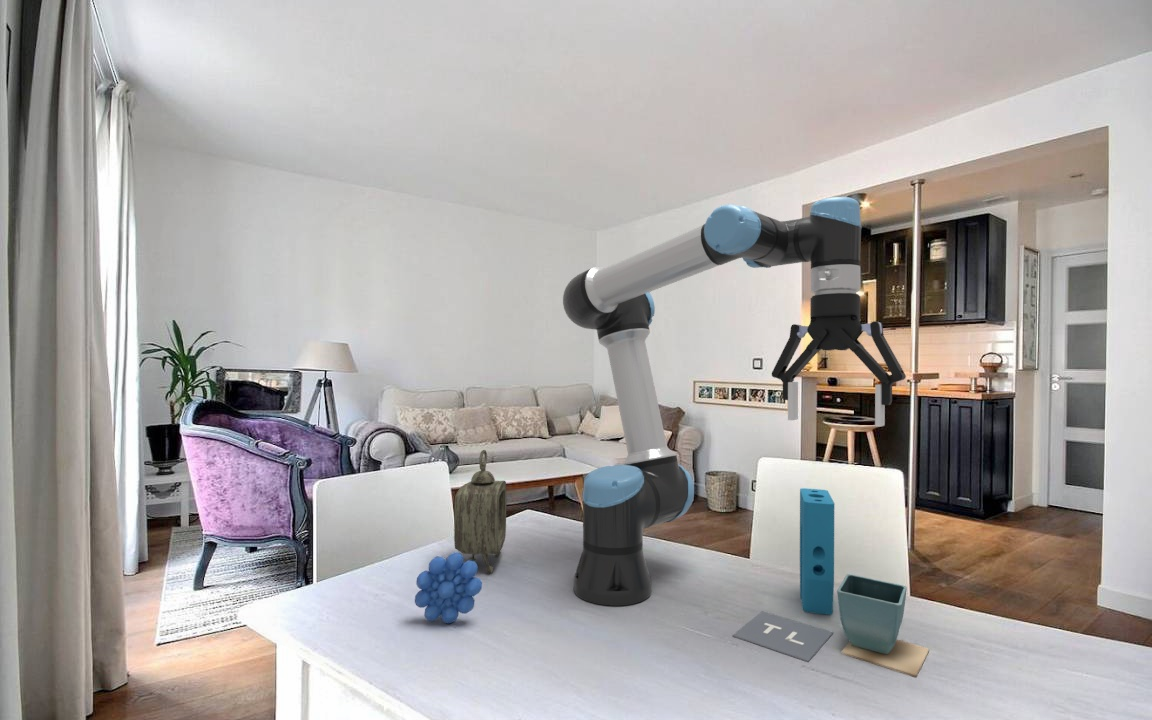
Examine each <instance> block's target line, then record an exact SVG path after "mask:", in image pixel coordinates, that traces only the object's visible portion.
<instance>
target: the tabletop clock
mask: <svg viewBox="0 0 1152 720" xmlns="http://www.w3.org/2000/svg"><path fill="white" fill-rule="evenodd" d="M483 456H484V461H483ZM487 463H488V454H487V451H486V449H483V450H481V452H480V454H479V470H478V471H476V472H475V473H474V474H473V475H472V476H471V479H470V481H469V482H467V483H465V484H463V485H462V486H460V488H459V489H458V491H457V492H456V494H455V497H454V511H453V512H454V515H453V517H454V520H453V523H454V524H453V527H454V529H453V532H454V533H453V534H454V537H453V538H454V539H453V540H454V549H455V550H457V551H458V552H459V553H462V555H471V557H469V558H468V559H467V561H474V562H475V563H477V562H476V558H475V556H476V555H481V556H482V557H483V560H484V561H485V563H486V564H485V565H486V567H485V572H486V573H487V574H491V573H493V571H494V567H493V565H490V561H489V557H488V555H494V556H496V557H498V556H500V555H501V553H502V552H501V551H502V549H503V546H504V543H505V540H506V535H507V534H506V533H507V531H506V530H507V482H506V480H496V479H495V477H494V475H493V473H492V472H490V471H488V470H487V469H486V466H487Z"/></svg>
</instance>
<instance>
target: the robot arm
mask: <svg viewBox="0 0 1152 720" xmlns="http://www.w3.org/2000/svg"><path fill="white" fill-rule="evenodd" d="M860 206H861V205H860V203H859V202H858V200H856V199H854V198H852V197H848V196H833V197H832V196H831V197H828V198H827V197H826V198H821V200H818V201H815V202H814V203H813V204H812V205H811V207H810V212H809V216H805V217H800V218H798V219H790V220H781V221H780V220H779V219H775V218H773V217H771V216H767V215H764V214H762V213H759V212H757V211H754V210H752V209H750V208H748V207H747V206H743V205H735V204H729V203H728V204H723V205H721V206H719V207H717V208H715V209H714V210H713V211H712V212H711V213H710V215H709V216H708V217H707V218H706V221H705V223H703V224H701V225H699V226H696V227H694V228H692V229H689V230H688V231H685V232H683V233H681V234H679V235H677V236H674V237H671V238H670V239H667V240H665V241H663V242H661V243H658V244H656V245H654V246H652V247H649V248H647V249H645V250H642V251H640V252H638V253H636V254H633V255H631V256H629V257H626V258H624V259H622V260H620V261H618V262H614V264H611V265H608V266H606V267H602V266H594V267H592V268H590V269H587V270H585V271H583V272H581V273H579V274H577V275H575V277H573V278H572V279H571V280H570V281H569V282H568V283H567V285H566V287H565V288H564V291H563V295H562V305H563V310H564V312H565V314H566V316H567V317H568V319H570V321H571V322H572V323H573V324H575V325H577V326H578V327H580V328H583V329H587V330H596V333H597V338H598V343H599V345H601V346H602V347H604V348H606V350H607V355H608V359H609V360H608V361H609V364H610V370H611V376H612V380H613V384H614V389H615V395H616V400H617V405H618V411H619V415H620V420H621V425H622V430H623V435H624V440H625V446H626V450H627V457H626V458H625V459H624V461H623V463H622V464H615V465H606V466H601V467H597V468H596V469H595V468H594V469H593V470H591V471H590V472H589V473H587V474H586V476H585V477H584V480H583V491H582V496H581V497H582V498H581V499H582V535H583V536H582V551H581V555H580V558H579V560H578V561H579V562H578V564H577V567H576V569H575V570H576V571H575V574H574V576H573V591H574V593H575V595H577V596H578V597H579V598H581V599H582V600H584V601H586V602H590V603H593V604H598V605H603V606H616V607H617V606H628V605H629V606H630V605H634V604H638V603H640V602H643V601H645V600H647V599H649V597H651V595H652V578H651V577H652V576H651V575H650V573H649V569H648V565H647V561H646V558H645V556H644V555H645V554H644V550H643V546H644V544H643V543H644V542H643V541H644V539H643V538H644V537H643V535H644V532H643V530H644V529H648V528H650V527H654V526H657V525H660V524H663V523H664V524H665V523H670V522H673V521H674V520H676V519H678V518H680V517H682V516H684V515H685V514H686V513H687V512H688V511H689V509H690V508H691V506H692V504H693V501H694V496H695V486H694V481H693V478H692V476H691V474H690V472H689V471H688V470H686V469H685V467H684V466H682V465H681V464H679V461H678V457H677V453H676V452H674V451H673V450H671V449H670V448H669V447H668V445H667V440H666V434H665V429H664V427H663V426H664V425H663V421H662V416H661V412H660V407H659V406H660V405H659V402H658V396H657V392H656V387H655V383H654V377H653V374H652V369H651V364H650V358H649V354H648V349H647V344H646V340H647V338H648V337H649V335H650V333H651V331H650V326H651V324H652V322H653V319H652V318H653V317H654V316H655V309H656V307H655V302H654V299H653V296H652V294H651V293H650V292H653V291H656V290H658V289H662V288H663V287H666V286H668V285H672V284H674V283H677V282H680V281H682V280H684V279H687V278H690V277H692V276H695V275H697V274H700V273H703V272H705V271H708V270H711V269H714V268H715V267H719V266H721V265H724V264H727V263H730V262H733V261H736V260H739V259H742V260H743V262H745V263H746V265H747V266H748V267H749V268H754V269H757V268H767V269H768V268H772V267H778V266H785V265H790V264H798V263H800V264H801V263H808V262H810V292H811V293H812V294H814V295H811V298H810V313H809V314H810V315H809V316H810V321H809V325H807V326H806V325H800V324H796V323H795V324H792V325H791V326H790V331H789V338H788V340H787V342H786V344H785V346H784V348H783V349H782V351H781V354H780V356H779V357H778V360H777V361H776V363H775V366H774V367H773V370H772V372H771V377H772V378H776V379H778V380H781V382H782V398H783V401H787V421H796V420H799V382H798V381H795V378H796V377H797V376H799V374H800V372H802V371H803V369H804V368H805V367H806V366H807V365H808V364H809V363H810V362H811V360H812V359H813V358H814V356H816V355H817V354H818V353H819V352H820V351H821V350H822V351H835V350H837V351H847V350H850V351H851V352H852V353H854V355H855V356H856V357H857V358H858V359H859V360H860V361H861V362H862V363H863V364H864V365H865V367H866V368H867V369H868V370H869V371H870V372H871V373H872V374H873V375H874V376H875V377H876V378H877V380H879V382H880V383H879V384H875V385H874V386H875V388H874V389H875V391H874V392H875V394H874V395H875V396H874V399H875V400H874V404H875V407H874V427H879V428H880V427H885V426H886V425H885V424H886V423H885V422H886V419H885V414H886V411H885V410H886V408H885V406H890V405H892V402H893V385H894V384H895V383H897V382H900V381H904V380H905V379H906V378H907V377H906V374H905V371H904V370H903V368H902V366H901V365H900V362H899V361H898V359H897V357H896V354H894V352H893V350H892V348H891V346H890V344H889V343H888V341H887V339H886V338H885V337H886V336H885V335H884V327H883V323H882V322H879V321H876V320H875V321H871V322H870V323H862V321H861V296H860V294H857V293H858V292H860V291H861V285H862V284H861V247H862V246H861V245H862V244H861V242H862V241H861V239H862V238H861V237H862V228H863V227H862V226H863V225H862V222H861V221H862V219H861V207H860ZM863 332H866V334H867V335H868V337H871V338H872V341H873V342H874V344H875V346H876V348H877V350H878V352H879V354H880V356H881V358H882V359H883V361H884V363H885V365H886V366H887V368H888V370H889V373H890V374H889V373H888V372H887V371H886V370H885V369H884V368H883V366H882V365H881V364H880V363H879V362H878V361H877V360H876V359H875V358H874V357H873V356H872V355H871V354H870V353H869V352H868V350H867V349H866V348H865V346H864V345H863V344H862V343H861V342H860V341H859V340H858V339H859V337H861V335H862V334H863ZM807 333H808V335H809V336H810V338H811V339H812V340H810V342H809V343H808V345H806V348H805V349H804V350H803V351H802V353H801V354H800V355H799V356H798V357H797V358H796V360H795V361H794V362H793V363H791V361H792V359H793V357H794V355H795V354H796V351H797V350H798V347H799V346H800V343H801V341H802V339H804V338H805V337H806V334H807ZM790 363H791V365H790V366H789V364H790ZM788 366H789V368H788Z"/></svg>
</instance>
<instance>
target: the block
mask: <svg viewBox="0 0 1152 720" xmlns="http://www.w3.org/2000/svg"><path fill="white" fill-rule="evenodd" d="M834 585H835V502H834V500H833V498H832V496H831V494H830V493H829V491H828V490H827V489H818V488H817V489H816V488H807V487H806V488H804V487H802V488H800V490H799V597H800V601H801V609H802V611H804V612H805V613H810V614H811V613H813V614H819V615H825V616H826V615H827V616H831V615H833V613H834V612H833V611H834V609H833V608H834V588H835V586H834Z"/></svg>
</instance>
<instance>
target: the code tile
mask: <svg viewBox="0 0 1152 720" xmlns="http://www.w3.org/2000/svg"><path fill="white" fill-rule="evenodd" d="M832 635H834V632H833V631H831V630H827V629H825V628H821V627H818V626H814V625H811V624H807V623H803V622H802V621H797V620H794V619H790V618H787V617H784V616H781V615H777V614H774V613H771V612H768V611H764V610H762V611H760V613H758V614H757V615H756V616H754V617H753V618H752V619H751V620H750V621H748V622H747V623H746V624H745V625H744V626H742V627H741V628H740V629H738V630H737V631H736V632H735V633H734V634H732V638H733V637H734V638H736V639H738V640H742V641H746V642H748V643H752V644H754V645H758V646H761V647H762V648H764V649H765V648H766V649H768V650H772V651H775V652H778V653H781V654H783V655H787V656H788V657H789V656H790V657H793V658H794V659H799V660H801V661H804V662H807V663H809V662H810V661H811V659H813V657H814V656H815V655H816V654H817V653H818V651H819V650H820V649H821V648H822V647H823V646H824V645H825V643H826V642H827V641H828V640H829V639H830V638H831V636H832Z"/></svg>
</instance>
